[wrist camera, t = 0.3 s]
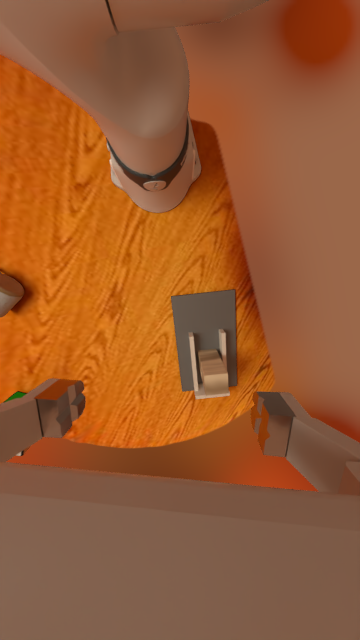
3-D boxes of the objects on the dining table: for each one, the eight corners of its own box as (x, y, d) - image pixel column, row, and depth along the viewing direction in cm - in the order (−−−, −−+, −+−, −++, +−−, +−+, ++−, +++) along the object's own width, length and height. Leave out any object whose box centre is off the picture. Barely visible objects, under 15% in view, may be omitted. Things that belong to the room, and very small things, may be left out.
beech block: (197, 350, 51) (204, 375, 39) (216, 348, 51) (227, 373, 39) (199, 366, 52) (205, 395, 41) (216, 364, 52) (228, 393, 41)
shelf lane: (171, 296, 47) (170, 300, 42) (234, 289, 47) (241, 292, 41) (182, 390, 55) (183, 403, 49) (236, 384, 55) (242, 397, 49)
